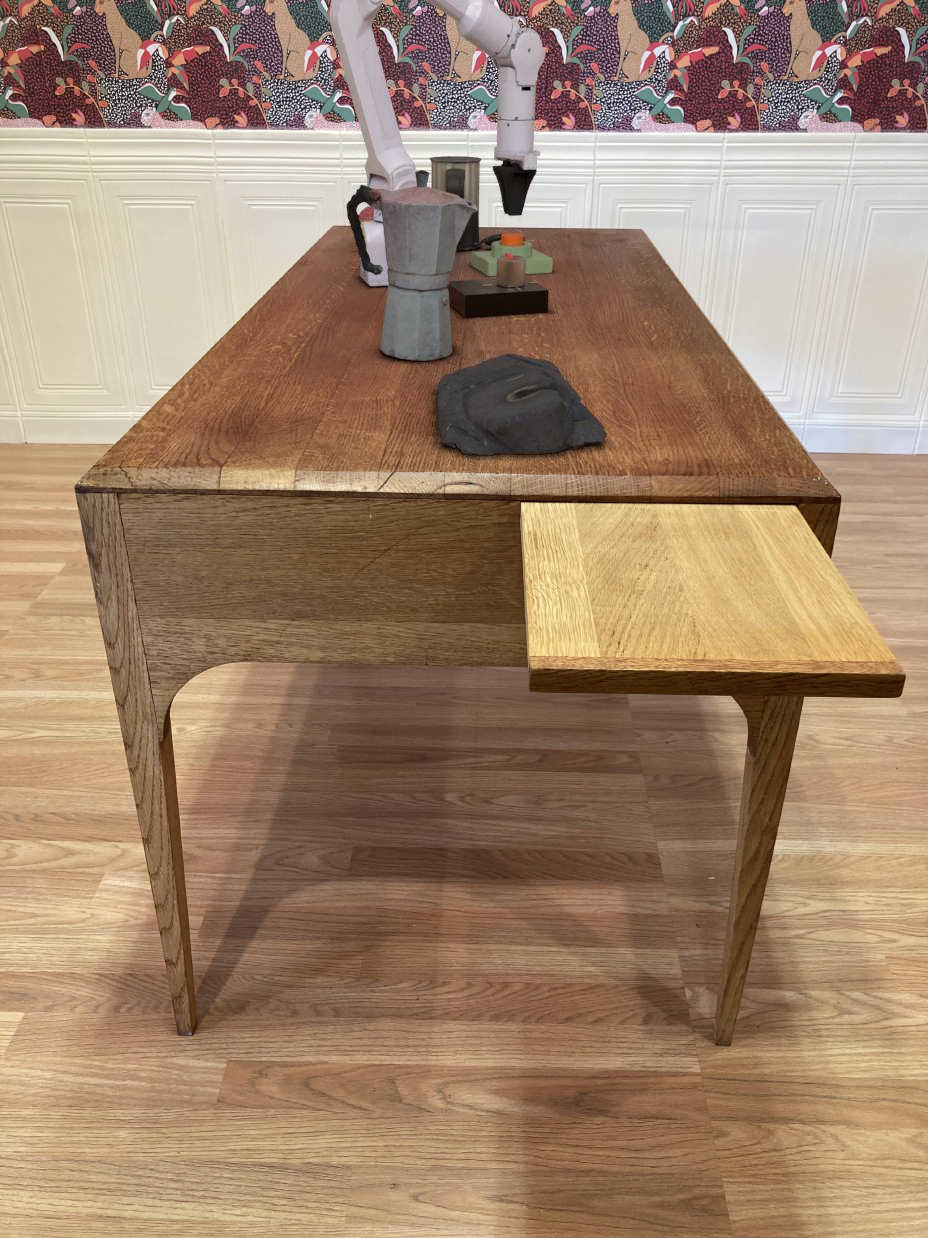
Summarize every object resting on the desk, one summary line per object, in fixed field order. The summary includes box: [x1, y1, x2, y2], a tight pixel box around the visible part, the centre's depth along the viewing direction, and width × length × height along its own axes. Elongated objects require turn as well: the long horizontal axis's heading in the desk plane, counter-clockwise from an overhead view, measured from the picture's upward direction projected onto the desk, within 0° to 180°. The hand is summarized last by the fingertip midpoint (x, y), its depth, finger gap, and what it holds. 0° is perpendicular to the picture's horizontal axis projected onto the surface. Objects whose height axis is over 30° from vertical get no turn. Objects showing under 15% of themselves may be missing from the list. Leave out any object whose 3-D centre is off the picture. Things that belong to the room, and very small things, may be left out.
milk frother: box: [429, 155, 526, 251], centre depth 171 cm, size 14×16×15 cm
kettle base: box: [471, 240, 554, 277], centre depth 158 cm, size 11×9×4 cm
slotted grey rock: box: [436, 352, 607, 456], centre depth 95 cm, size 15×22×5 cm
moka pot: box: [345, 169, 478, 362], centre depth 110 cm, size 10×15×20 cm, turn 78°
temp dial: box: [495, 253, 526, 287], centre depth 133 cm, size 4×4×4 cm
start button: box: [500, 232, 524, 246], centre depth 157 cm, size 4×4×2 cm
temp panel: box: [447, 276, 550, 319], centre depth 135 cm, size 12×9×3 cm
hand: (512, 214), depth 154 cm, fingers closed
